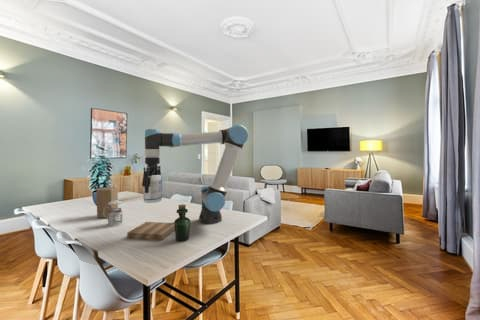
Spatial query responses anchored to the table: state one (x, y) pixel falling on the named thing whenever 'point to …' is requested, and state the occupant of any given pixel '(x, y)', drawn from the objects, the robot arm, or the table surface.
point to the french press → (116, 212)
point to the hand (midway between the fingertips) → (152, 196)
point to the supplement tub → (154, 189)
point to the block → (106, 200)
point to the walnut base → (151, 231)
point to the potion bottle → (182, 224)
